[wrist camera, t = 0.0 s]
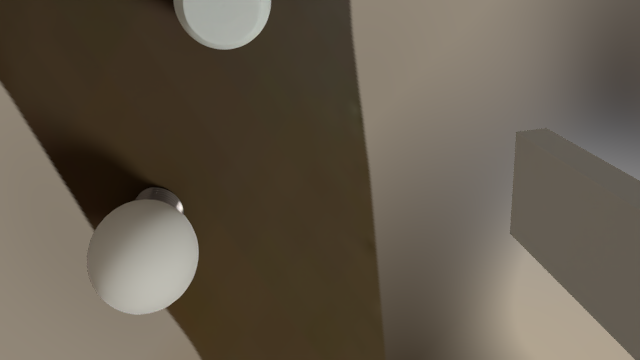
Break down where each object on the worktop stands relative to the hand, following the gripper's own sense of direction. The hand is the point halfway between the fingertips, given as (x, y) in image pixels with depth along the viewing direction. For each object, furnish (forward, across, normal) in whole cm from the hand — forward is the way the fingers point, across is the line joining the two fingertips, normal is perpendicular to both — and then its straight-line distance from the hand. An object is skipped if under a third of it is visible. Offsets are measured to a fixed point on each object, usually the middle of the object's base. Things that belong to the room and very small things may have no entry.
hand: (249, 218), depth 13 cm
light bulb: (+28, -7, -12) cm, 31 cm away
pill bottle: (+28, 0, +3) cm, 28 cm away
